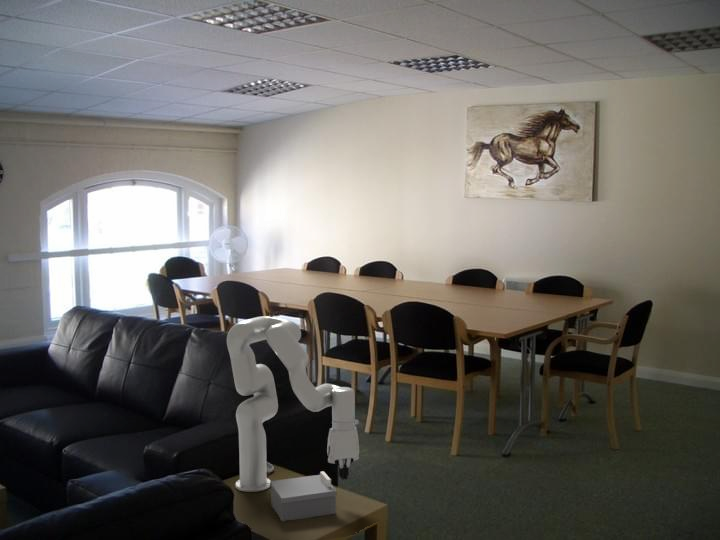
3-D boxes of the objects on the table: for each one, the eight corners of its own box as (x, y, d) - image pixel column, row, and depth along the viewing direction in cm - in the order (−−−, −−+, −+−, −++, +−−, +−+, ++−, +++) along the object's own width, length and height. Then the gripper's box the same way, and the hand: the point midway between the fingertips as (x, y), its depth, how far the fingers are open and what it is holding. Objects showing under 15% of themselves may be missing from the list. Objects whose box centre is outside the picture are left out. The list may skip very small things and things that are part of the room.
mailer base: (271, 505, 250) (271, 484, 250) (322, 497, 256) (322, 477, 256) (281, 521, 237) (281, 500, 237) (335, 513, 243) (335, 492, 243)
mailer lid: (270, 485, 250) (269, 474, 250) (322, 478, 257) (322, 467, 256) (281, 503, 236) (281, 490, 235) (337, 495, 242) (336, 483, 242)
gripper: (360, 419, 255) (360, 471, 257) (318, 423, 250) (319, 477, 252) (368, 425, 248) (368, 479, 250) (325, 430, 243) (325, 485, 245)
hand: (343, 478), depth 251 cm, fingers closed
